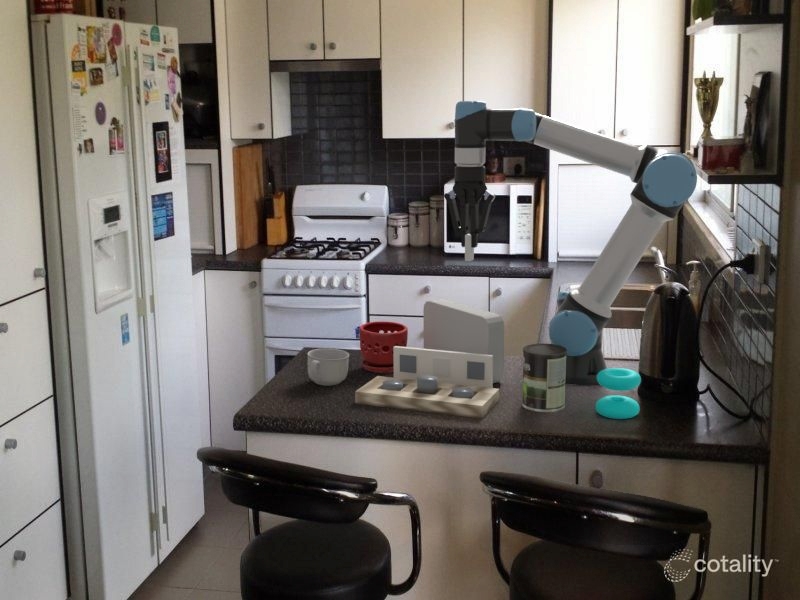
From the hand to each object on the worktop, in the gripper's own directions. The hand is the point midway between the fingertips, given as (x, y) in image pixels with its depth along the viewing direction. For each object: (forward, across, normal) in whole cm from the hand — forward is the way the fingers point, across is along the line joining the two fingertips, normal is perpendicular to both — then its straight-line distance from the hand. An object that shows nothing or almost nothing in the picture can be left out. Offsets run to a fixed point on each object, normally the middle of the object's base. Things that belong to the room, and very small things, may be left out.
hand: (469, 260), depth 241 cm
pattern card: (+32, +5, +6) cm, 33 cm away
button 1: (+32, +14, +17) cm, 38 cm away
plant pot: (+33, +26, -6) cm, 42 cm away
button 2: (+32, -4, +17) cm, 36 cm away
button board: (+32, +5, +17) cm, 37 cm away
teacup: (+33, +35, +12) cm, 49 cm away
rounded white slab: (+33, +5, -10) cm, 35 cm away
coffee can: (+33, -22, +10) cm, 41 cm away
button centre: (+29, +5, +17) cm, 34 cm away
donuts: (+33, -39, +10) cm, 52 cm away
